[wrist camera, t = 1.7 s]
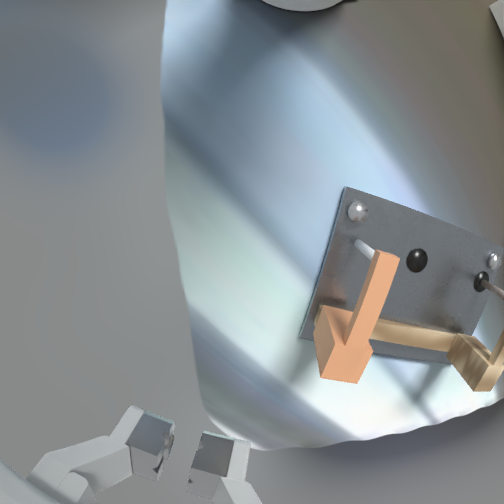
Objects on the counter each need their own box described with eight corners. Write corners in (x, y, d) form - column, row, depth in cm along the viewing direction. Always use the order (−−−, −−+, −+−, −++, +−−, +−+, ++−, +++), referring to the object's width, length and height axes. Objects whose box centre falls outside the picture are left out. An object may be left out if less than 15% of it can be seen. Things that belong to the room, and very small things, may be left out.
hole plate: (344, 186, 33) (348, 186, 31) (500, 246, 32) (508, 249, 30) (299, 333, 38) (300, 341, 36) (453, 360, 37) (459, 367, 35)
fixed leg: (343, 229, 33) (368, 248, 23) (491, 278, 32) (534, 303, 22) (311, 326, 36) (320, 375, 26) (458, 353, 35) (490, 391, 25)
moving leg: (344, 230, 32) (369, 249, 22) (375, 239, 32) (409, 261, 22) (312, 329, 35) (320, 377, 26) (341, 335, 35) (357, 383, 25)
